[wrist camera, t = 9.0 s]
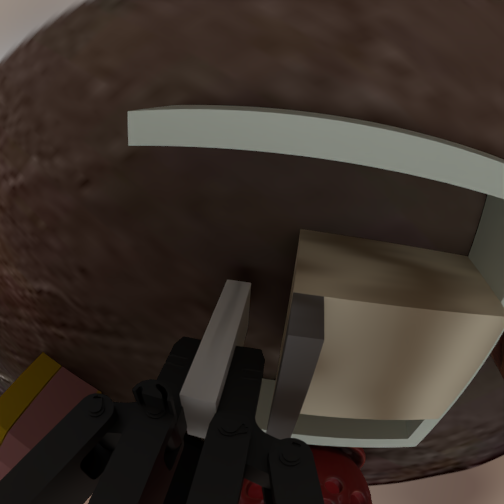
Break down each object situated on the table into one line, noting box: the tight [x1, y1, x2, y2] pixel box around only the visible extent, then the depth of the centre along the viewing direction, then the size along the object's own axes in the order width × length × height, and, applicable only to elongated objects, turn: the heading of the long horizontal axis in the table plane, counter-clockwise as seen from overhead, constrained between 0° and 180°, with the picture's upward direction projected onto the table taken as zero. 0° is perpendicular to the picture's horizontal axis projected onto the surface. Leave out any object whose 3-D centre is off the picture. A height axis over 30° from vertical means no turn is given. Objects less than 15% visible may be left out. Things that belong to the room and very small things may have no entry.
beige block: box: [266, 229, 504, 440], centre depth 12 cm, size 9×7×7 cm
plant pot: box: [239, 444, 372, 504], centre depth 18 cm, size 13×13×12 cm
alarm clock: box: [0, 353, 101, 480], centre depth 20 cm, size 15×8×18 cm, turn 154°
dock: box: [128, 105, 504, 448], centre depth 14 cm, size 16×17×4 cm
